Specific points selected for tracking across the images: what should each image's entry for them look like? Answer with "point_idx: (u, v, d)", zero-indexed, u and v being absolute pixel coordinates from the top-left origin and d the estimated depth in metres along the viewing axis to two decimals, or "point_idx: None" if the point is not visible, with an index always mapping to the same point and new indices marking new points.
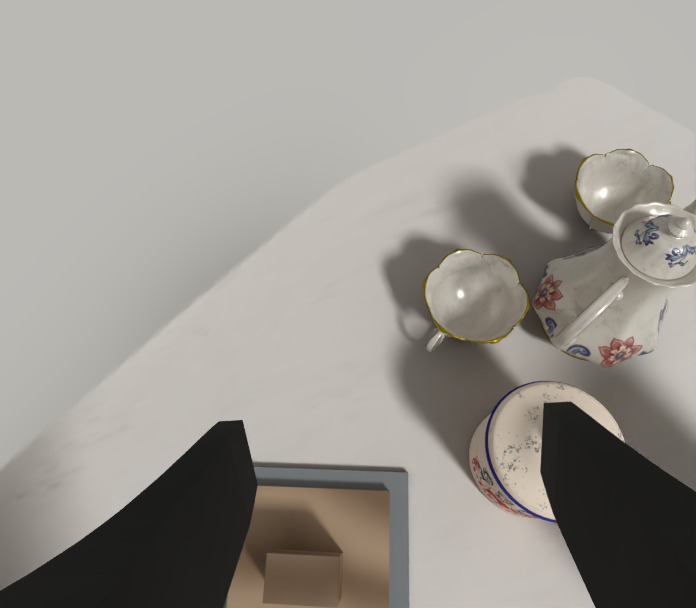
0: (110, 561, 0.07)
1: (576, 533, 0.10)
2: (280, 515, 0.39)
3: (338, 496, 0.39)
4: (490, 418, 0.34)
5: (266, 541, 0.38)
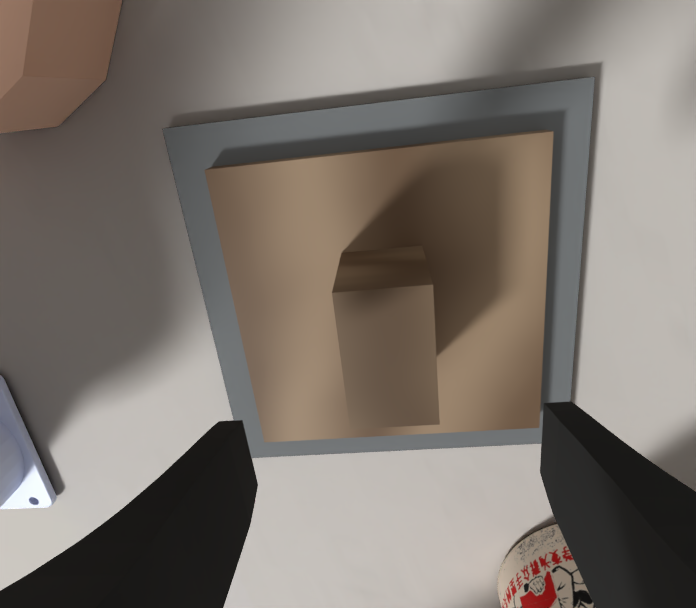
0: (110, 561, 0.07)
1: (576, 533, 0.10)
2: (488, 238, 0.18)
3: (528, 345, 0.19)
4: None
5: (434, 218, 0.18)
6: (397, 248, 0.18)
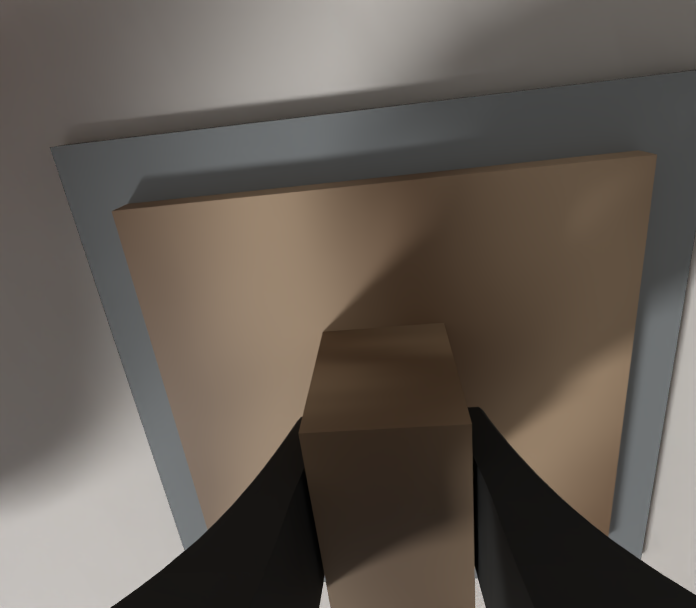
0: (242, 557, 0.07)
1: None
2: (545, 313, 0.12)
3: (596, 459, 0.13)
4: None
5: (463, 284, 0.12)
6: (406, 326, 0.12)
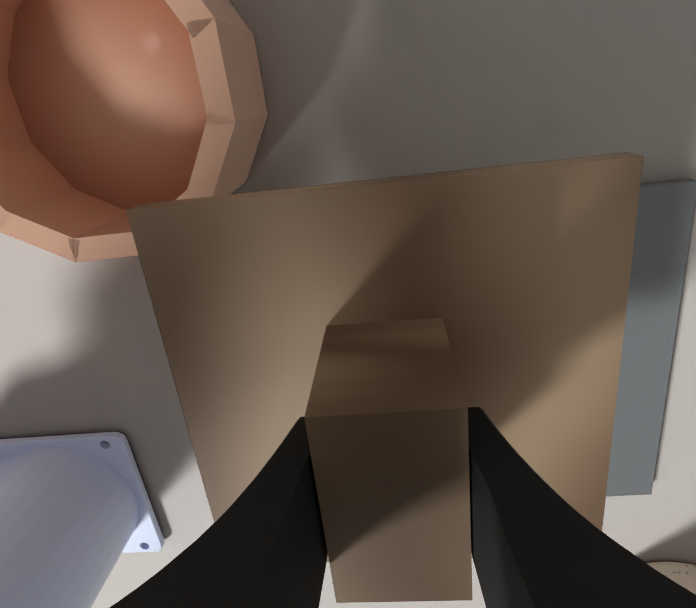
0: (242, 557, 0.07)
1: (473, 537, 0.10)
2: (538, 307, 0.12)
3: (590, 450, 0.14)
4: None
5: (460, 280, 0.12)
6: (406, 320, 0.13)
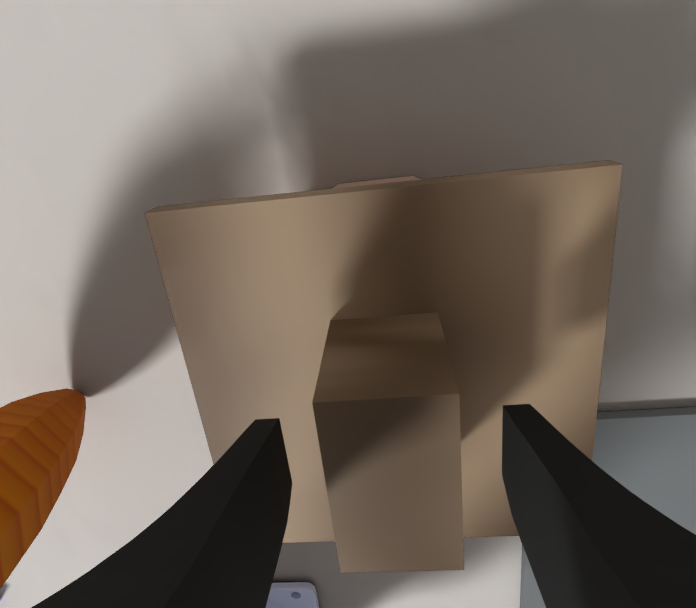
0: (168, 559, 0.07)
1: (530, 535, 0.10)
2: (527, 304, 0.13)
3: (575, 436, 0.15)
4: None
5: (455, 278, 0.13)
6: (404, 315, 0.14)
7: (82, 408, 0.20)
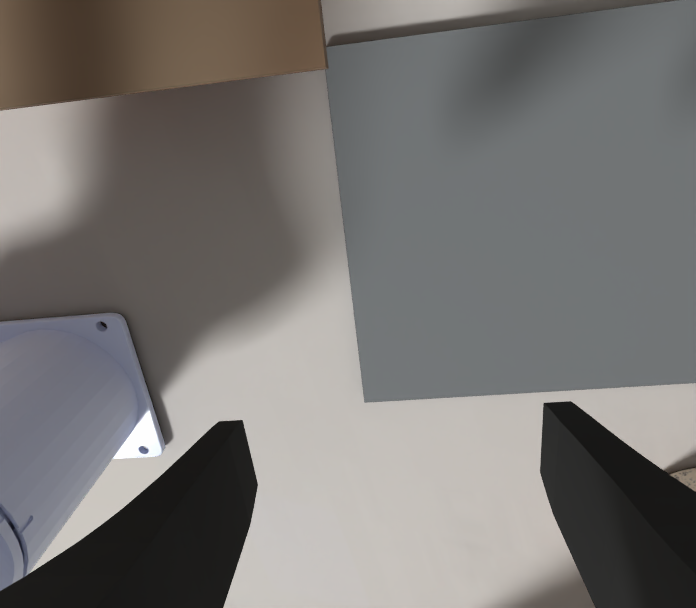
0: (110, 561, 0.07)
1: (576, 533, 0.10)
2: None
3: None
4: None
5: None
6: None
7: None
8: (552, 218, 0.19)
